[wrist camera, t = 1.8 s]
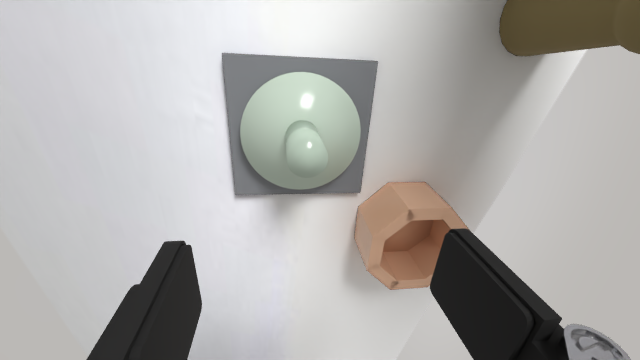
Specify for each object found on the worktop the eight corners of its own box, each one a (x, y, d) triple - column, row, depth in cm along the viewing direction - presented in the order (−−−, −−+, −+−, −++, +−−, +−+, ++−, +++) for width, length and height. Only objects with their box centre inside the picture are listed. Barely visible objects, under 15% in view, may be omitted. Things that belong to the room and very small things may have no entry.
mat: (223, 52, 21) (221, 53, 20) (375, 61, 22) (378, 61, 22) (236, 191, 26) (235, 194, 26) (358, 189, 28) (360, 192, 27)
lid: (236, 68, 21) (222, 77, 15) (364, 74, 22) (390, 83, 17) (245, 185, 25) (236, 223, 20) (351, 183, 27) (369, 218, 21)
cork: (486, 47, 23) (637, 50, 13) (523, -40, 21) (742, -114, 11) (543, 63, 24) (719, 77, 15) (585, -17, 22) (830, -65, 12)
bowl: (361, 182, 27) (377, 209, 23) (450, 181, 29) (481, 207, 24) (351, 256, 32) (363, 291, 27) (429, 252, 33) (452, 285, 29)
